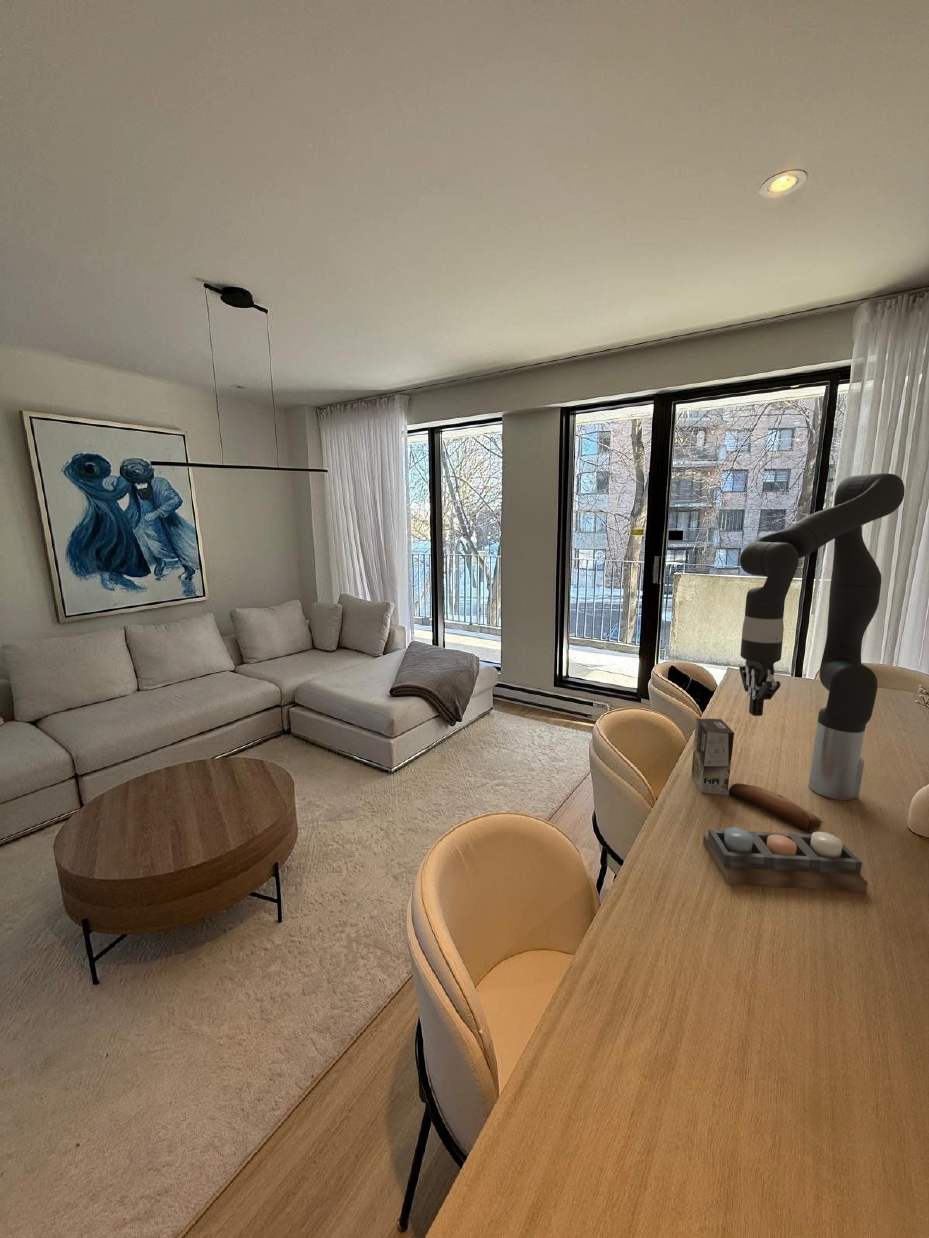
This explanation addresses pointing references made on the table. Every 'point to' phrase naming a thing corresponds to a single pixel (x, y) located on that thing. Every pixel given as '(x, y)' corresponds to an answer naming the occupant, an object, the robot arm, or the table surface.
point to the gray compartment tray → (785, 865)
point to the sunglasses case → (776, 805)
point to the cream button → (826, 845)
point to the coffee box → (712, 756)
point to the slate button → (738, 840)
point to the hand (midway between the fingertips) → (755, 714)
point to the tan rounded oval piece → (781, 845)
